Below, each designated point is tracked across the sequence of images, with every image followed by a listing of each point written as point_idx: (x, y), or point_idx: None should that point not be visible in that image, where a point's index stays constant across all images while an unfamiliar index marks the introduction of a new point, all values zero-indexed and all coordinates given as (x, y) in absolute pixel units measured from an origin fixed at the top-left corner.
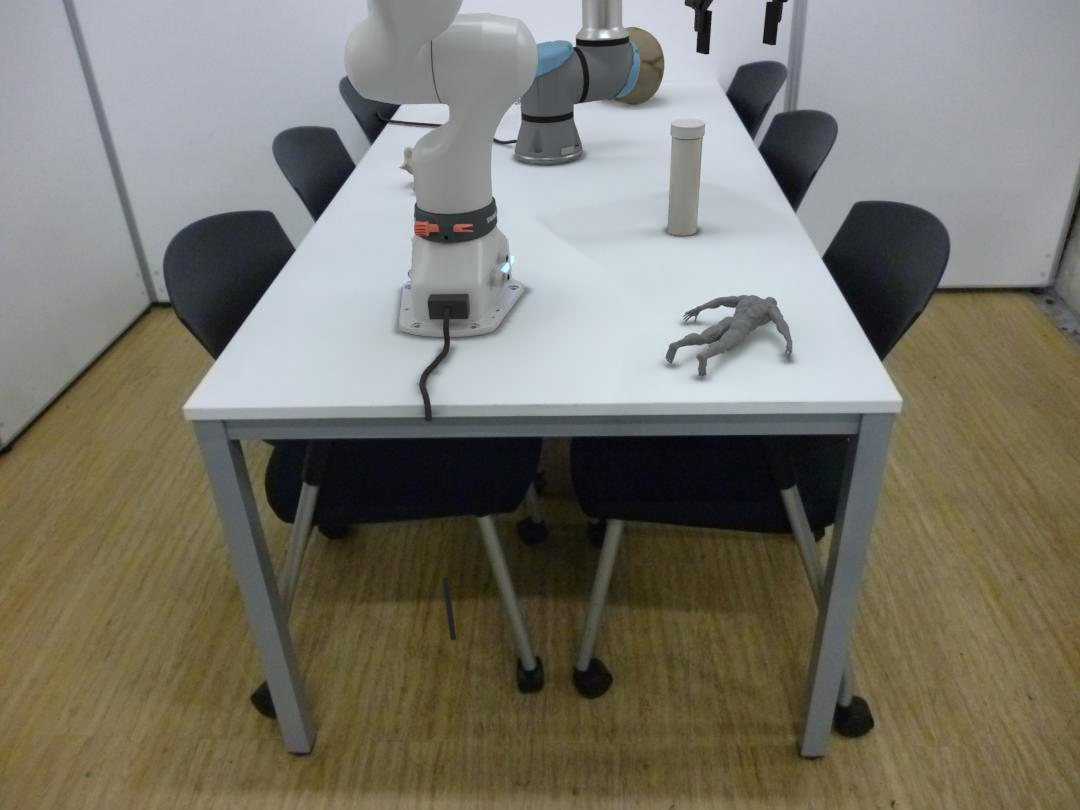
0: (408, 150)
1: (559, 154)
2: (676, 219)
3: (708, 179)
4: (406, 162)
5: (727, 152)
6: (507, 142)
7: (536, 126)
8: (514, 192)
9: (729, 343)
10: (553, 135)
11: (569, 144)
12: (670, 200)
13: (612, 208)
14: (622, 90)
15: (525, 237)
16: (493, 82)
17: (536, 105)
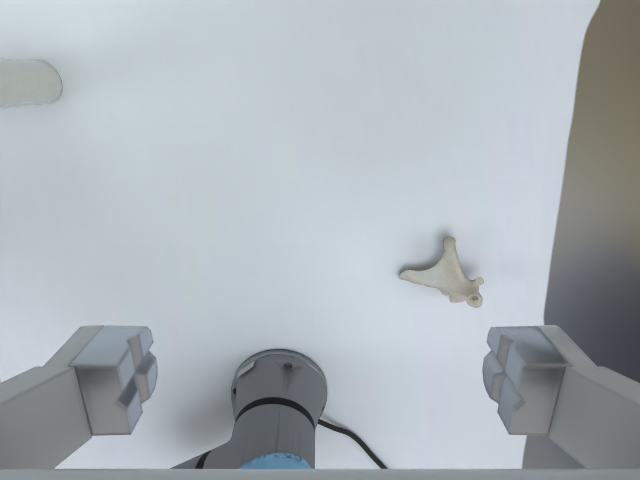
0: (474, 294)
1: (257, 361)
2: (32, 62)
3: (43, 290)
4: (474, 283)
5: None
6: (343, 429)
7: (287, 394)
8: (306, 243)
9: None
10: (262, 383)
11: (242, 379)
12: (28, 74)
13: (156, 176)
14: None
15: (262, 55)
16: None
17: (283, 418)
